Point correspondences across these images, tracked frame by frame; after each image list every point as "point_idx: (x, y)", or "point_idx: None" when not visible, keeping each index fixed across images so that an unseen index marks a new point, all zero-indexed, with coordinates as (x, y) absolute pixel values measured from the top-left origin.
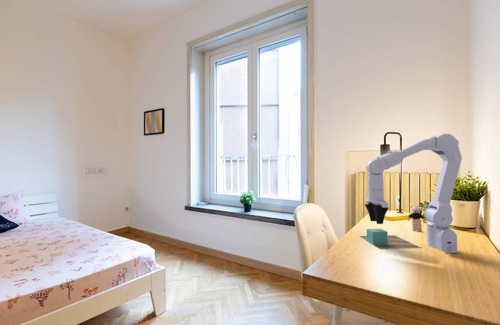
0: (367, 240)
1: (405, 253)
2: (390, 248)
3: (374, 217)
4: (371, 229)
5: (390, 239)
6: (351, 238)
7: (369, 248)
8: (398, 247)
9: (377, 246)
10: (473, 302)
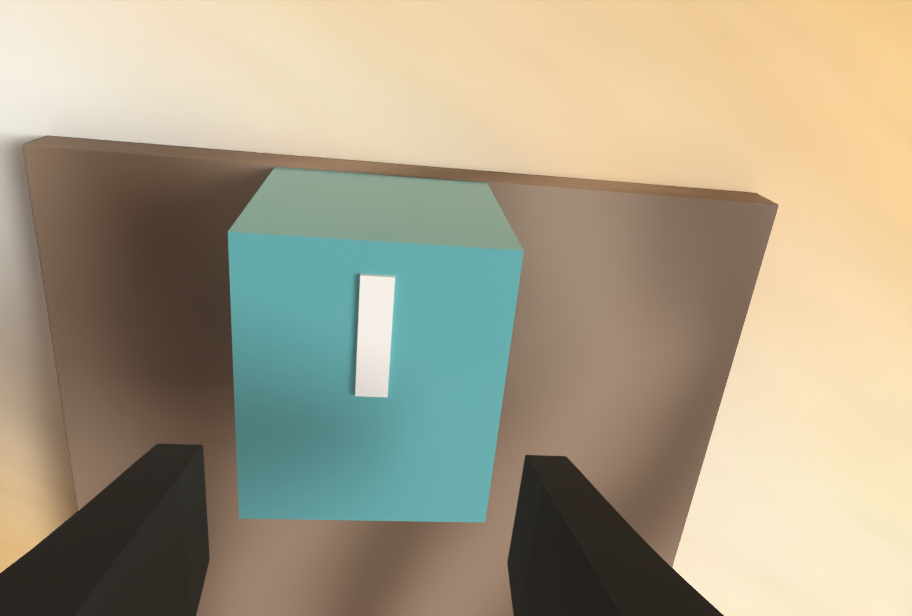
0: (471, 185)
1: (17, 431)
2: (64, 317)
3: (534, 610)
4: (458, 326)
5: (482, 528)
6: (818, 77)
7: (250, 77)
8: (112, 439)
9: (167, 182)
10: None
